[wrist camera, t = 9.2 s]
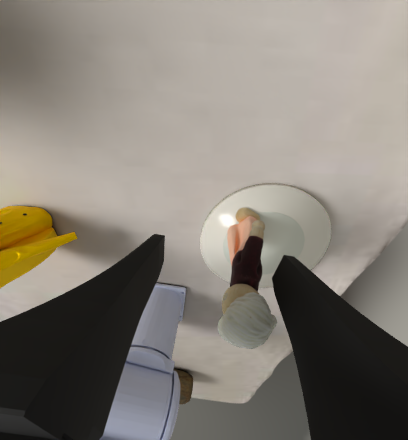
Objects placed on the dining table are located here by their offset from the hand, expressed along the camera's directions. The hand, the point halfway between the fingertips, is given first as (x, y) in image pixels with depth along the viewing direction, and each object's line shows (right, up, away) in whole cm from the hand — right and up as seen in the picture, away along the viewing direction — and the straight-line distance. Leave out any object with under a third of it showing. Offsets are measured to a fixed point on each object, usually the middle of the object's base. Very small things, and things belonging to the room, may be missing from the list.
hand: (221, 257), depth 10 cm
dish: (+6, -1, +12) cm, 14 cm away
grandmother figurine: (+4, +1, +10) cm, 11 cm away
